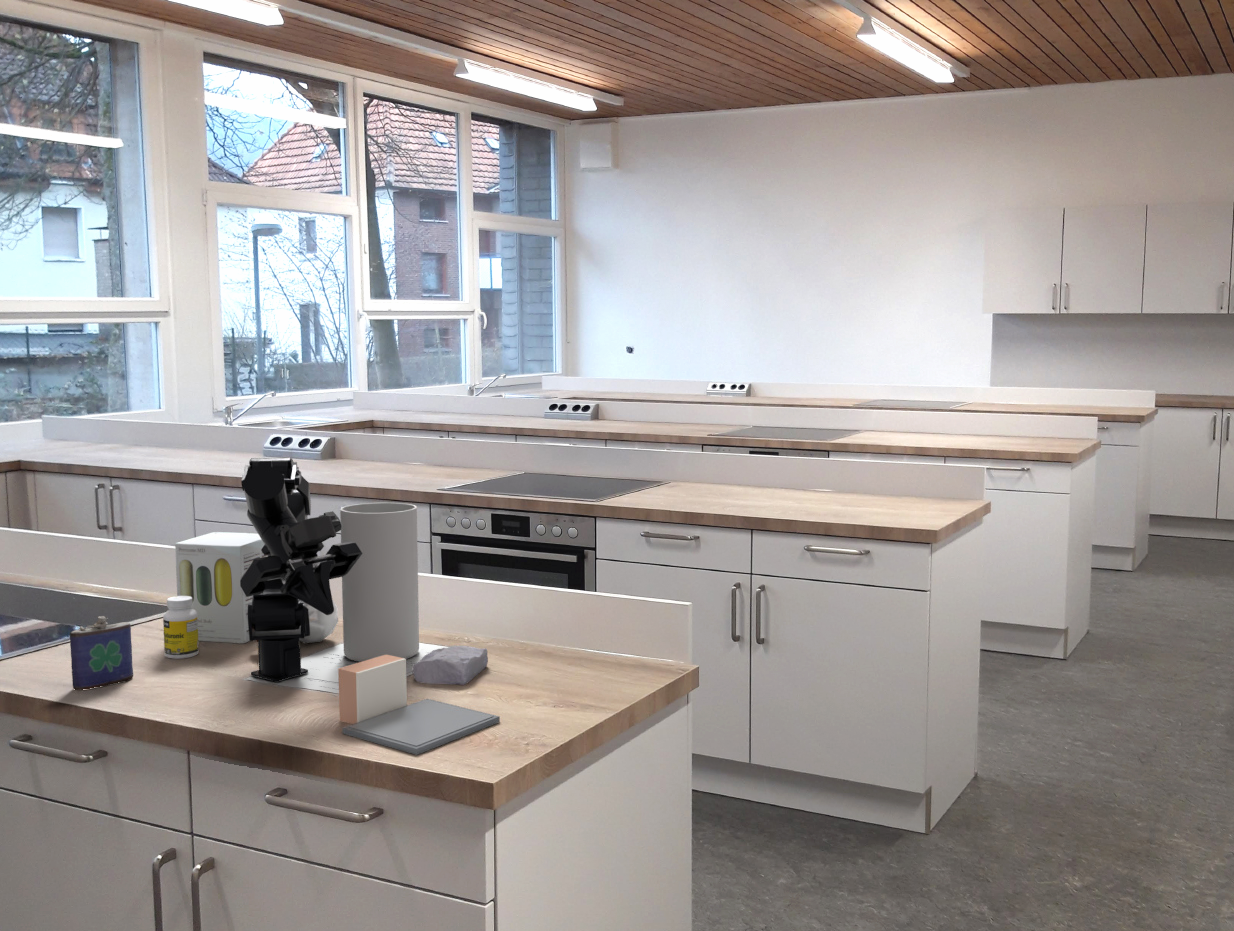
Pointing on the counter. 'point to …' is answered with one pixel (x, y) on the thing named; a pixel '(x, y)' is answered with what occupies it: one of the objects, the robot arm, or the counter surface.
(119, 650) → the flask
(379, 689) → the salmon orange block
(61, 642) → the counter surface
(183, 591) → the supplement box
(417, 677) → the stone block
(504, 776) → the counter surface
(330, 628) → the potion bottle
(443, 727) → the slate board
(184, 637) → the supplement bottle
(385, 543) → the cylinder vase
